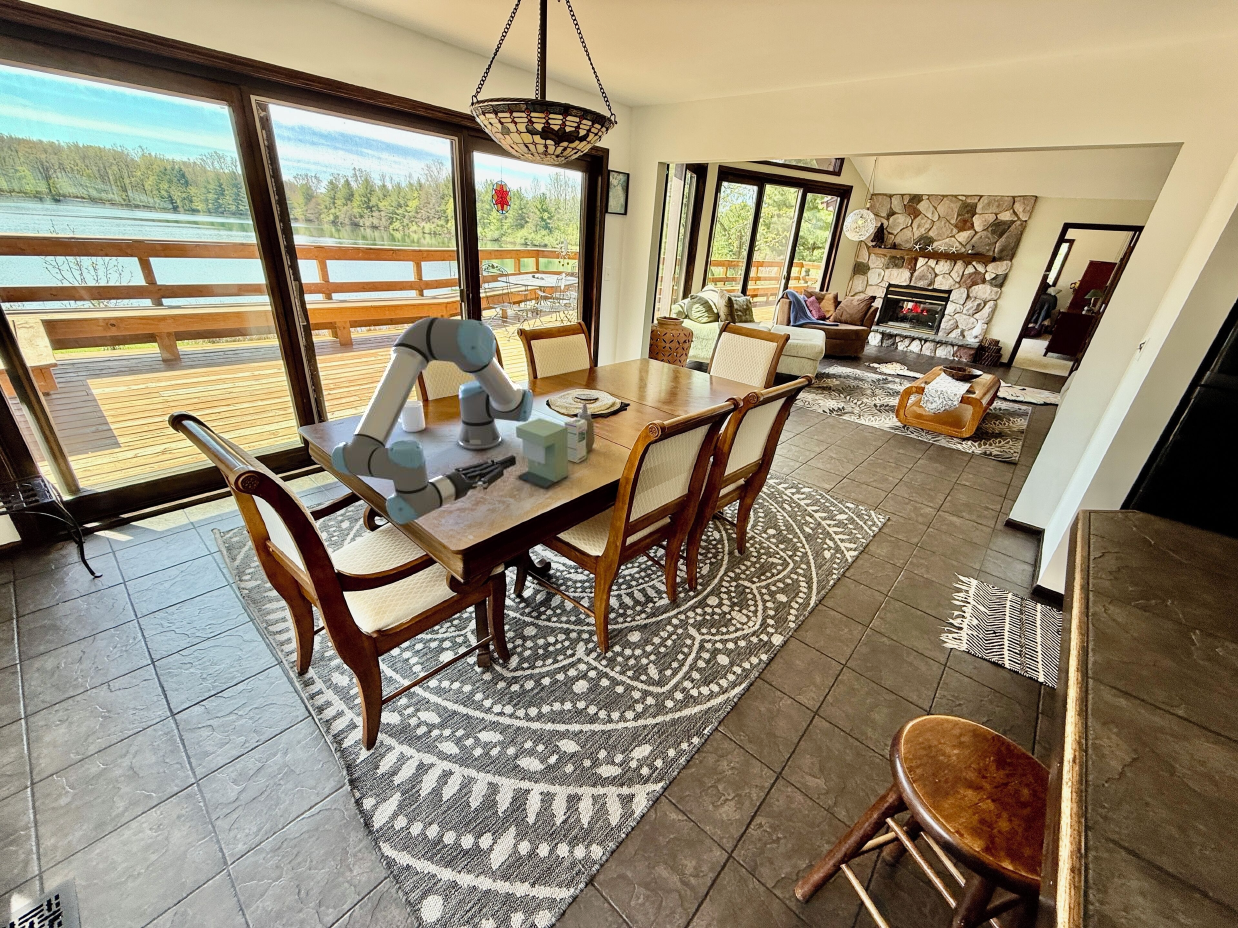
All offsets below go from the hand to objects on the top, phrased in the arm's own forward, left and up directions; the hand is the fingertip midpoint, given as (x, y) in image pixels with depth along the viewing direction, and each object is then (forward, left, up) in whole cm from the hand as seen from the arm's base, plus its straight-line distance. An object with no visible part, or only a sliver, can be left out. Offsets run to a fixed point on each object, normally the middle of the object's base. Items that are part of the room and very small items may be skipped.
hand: (514, 459), depth 143 cm
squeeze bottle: (-26, +30, -11) cm, 41 cm away
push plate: (-5, +7, -3) cm, 9 cm away
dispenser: (-7, +10, -11) cm, 16 cm away
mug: (-63, -31, -11) cm, 71 cm away
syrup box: (-19, +25, -11) cm, 33 cm away
